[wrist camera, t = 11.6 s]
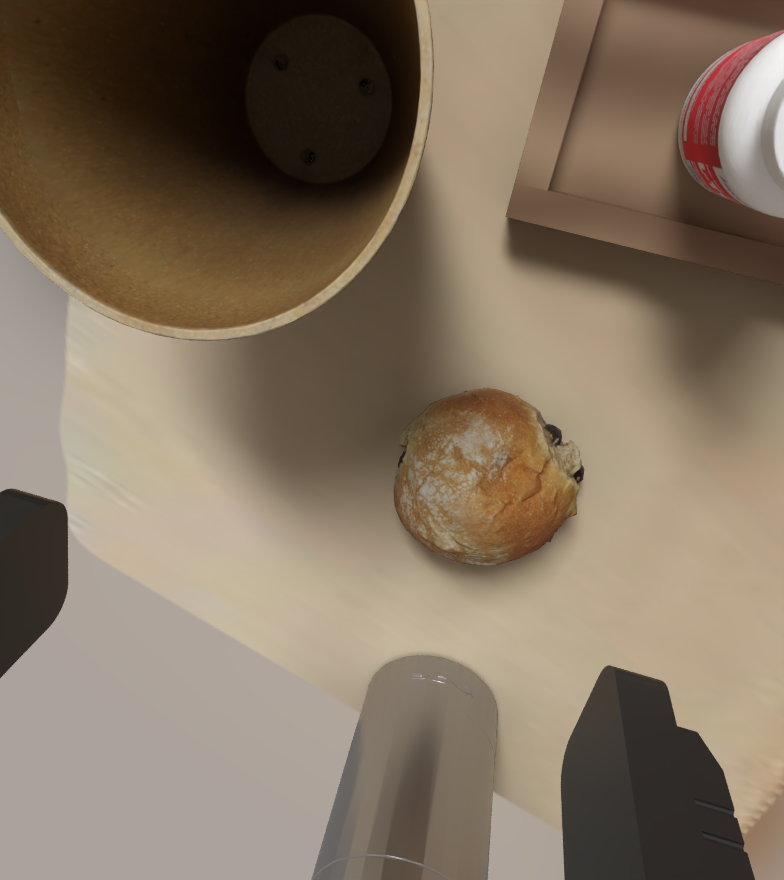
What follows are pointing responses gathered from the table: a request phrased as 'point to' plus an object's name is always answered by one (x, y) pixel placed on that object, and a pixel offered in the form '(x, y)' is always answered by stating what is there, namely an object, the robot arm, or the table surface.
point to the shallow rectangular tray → (640, 133)
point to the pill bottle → (739, 126)
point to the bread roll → (485, 478)
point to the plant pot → (209, 151)
